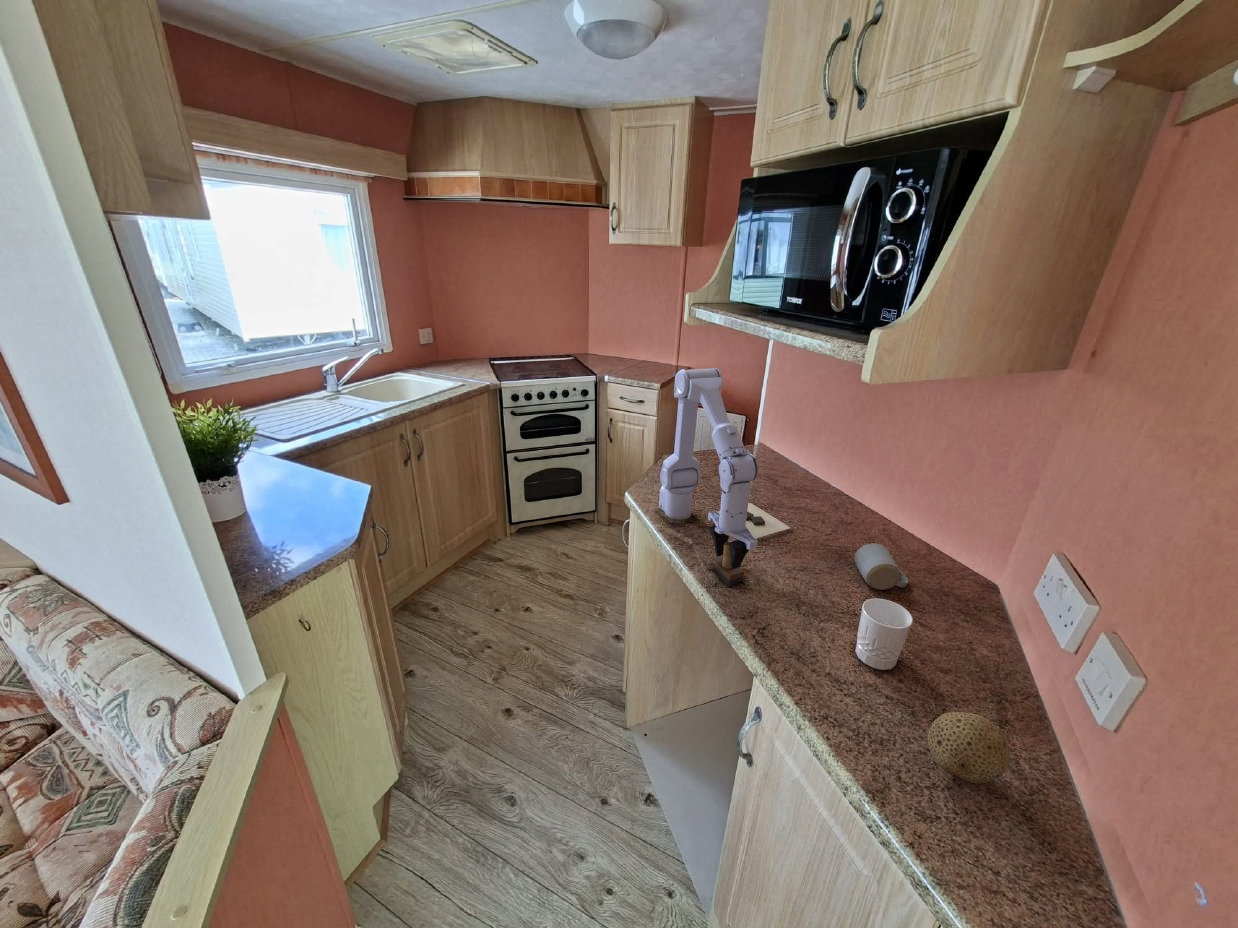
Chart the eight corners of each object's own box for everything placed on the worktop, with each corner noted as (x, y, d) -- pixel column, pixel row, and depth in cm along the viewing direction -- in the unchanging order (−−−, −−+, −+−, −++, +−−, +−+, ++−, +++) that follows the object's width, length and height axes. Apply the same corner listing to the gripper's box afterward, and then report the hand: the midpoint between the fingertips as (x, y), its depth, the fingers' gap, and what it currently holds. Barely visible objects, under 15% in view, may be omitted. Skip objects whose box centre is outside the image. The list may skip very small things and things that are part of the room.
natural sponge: (952, 809, 65) (974, 758, 61) (905, 748, 73) (922, 699, 69) (1011, 797, 66) (1036, 746, 63) (958, 739, 75) (978, 690, 71)
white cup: (842, 647, 92) (852, 603, 88) (874, 636, 95) (885, 594, 91) (876, 678, 85) (889, 633, 81) (909, 665, 88) (923, 621, 84)
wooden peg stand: (710, 569, 114) (712, 538, 111) (723, 565, 116) (727, 534, 113) (729, 586, 109) (732, 554, 106) (743, 581, 110) (747, 549, 107)
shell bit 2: (750, 519, 134) (750, 516, 133) (760, 519, 134) (761, 516, 134) (754, 525, 131) (754, 522, 131) (764, 524, 131) (765, 521, 131)
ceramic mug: (863, 591, 107) (871, 561, 104) (850, 569, 115) (857, 541, 112) (913, 594, 107) (923, 565, 104) (897, 572, 114) (905, 544, 111)
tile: (714, 515, 138) (714, 512, 138) (750, 506, 144) (750, 502, 143) (752, 543, 125) (752, 539, 125) (790, 531, 130) (790, 527, 130)
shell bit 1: (737, 516, 135) (738, 513, 135) (744, 513, 137) (744, 510, 137) (747, 521, 133) (747, 517, 133) (753, 517, 135) (753, 514, 135)
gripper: (698, 497, 110) (694, 549, 115) (741, 527, 98) (734, 583, 103) (724, 491, 113) (719, 542, 118) (768, 519, 101) (760, 574, 106)
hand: (727, 560), depth 111 cm, fingers open, 5 cm apart
